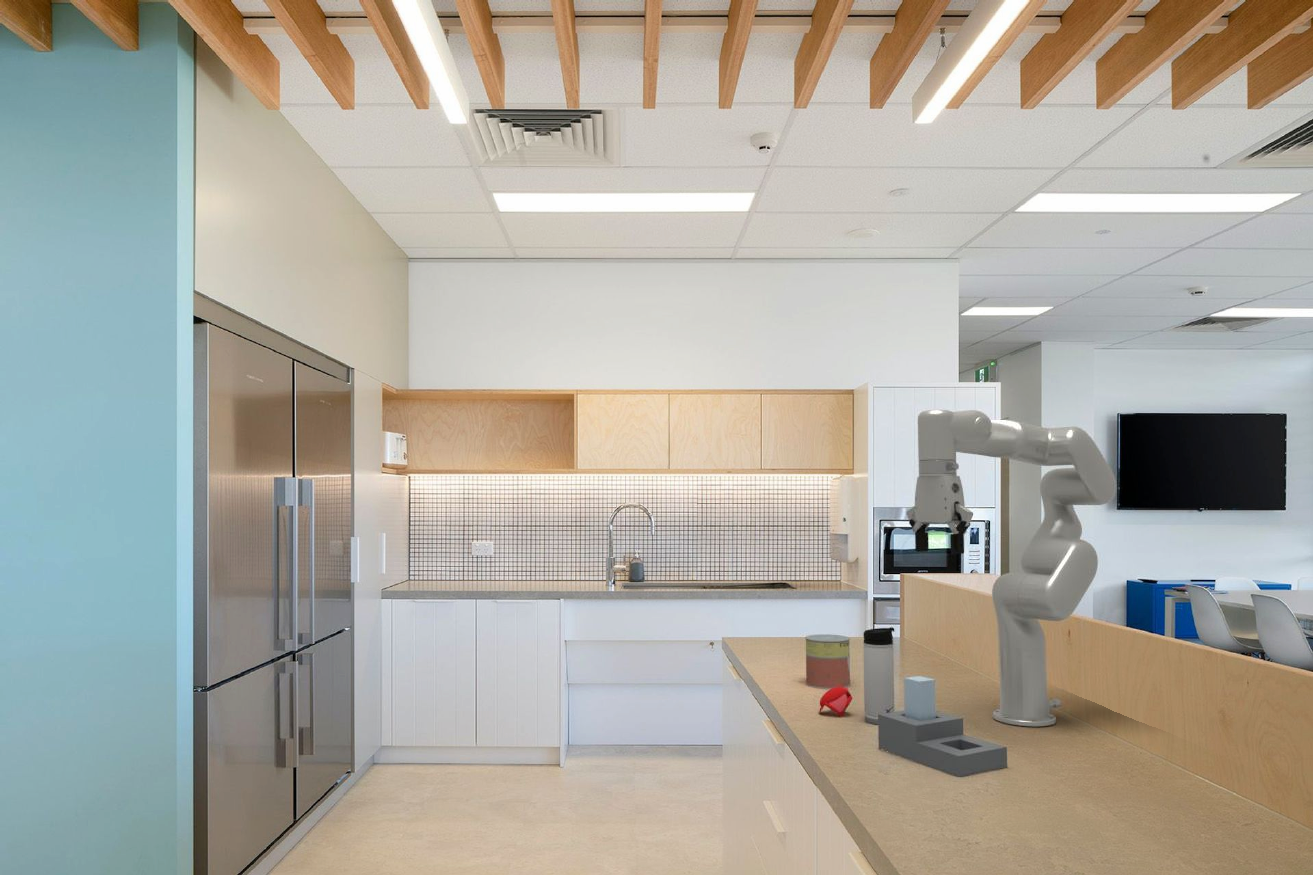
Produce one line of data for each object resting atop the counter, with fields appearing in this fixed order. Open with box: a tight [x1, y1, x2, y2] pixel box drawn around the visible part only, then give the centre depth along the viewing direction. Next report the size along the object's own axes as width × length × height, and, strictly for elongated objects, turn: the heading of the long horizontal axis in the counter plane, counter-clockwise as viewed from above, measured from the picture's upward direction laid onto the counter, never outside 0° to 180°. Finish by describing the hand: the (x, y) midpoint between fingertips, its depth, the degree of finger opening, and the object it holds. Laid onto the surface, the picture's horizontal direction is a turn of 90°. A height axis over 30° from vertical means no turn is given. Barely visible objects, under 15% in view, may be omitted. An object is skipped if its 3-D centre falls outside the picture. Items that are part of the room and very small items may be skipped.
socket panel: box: [877, 709, 1008, 778], centre depth 167 cm, size 12×20×6 cm, turn 28°
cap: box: [818, 687, 853, 717], centre depth 201 cm, size 8×6×6 cm
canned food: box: [805, 634, 851, 690], centre depth 233 cm, size 11×11×12 cm
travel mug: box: [862, 626, 896, 726], centre depth 195 cm, size 6×7×20 cm
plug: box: [903, 675, 937, 721], centre depth 172 cm, size 4×5×10 cm
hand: (939, 552), depth 186 cm, fingers open, 9 cm apart
